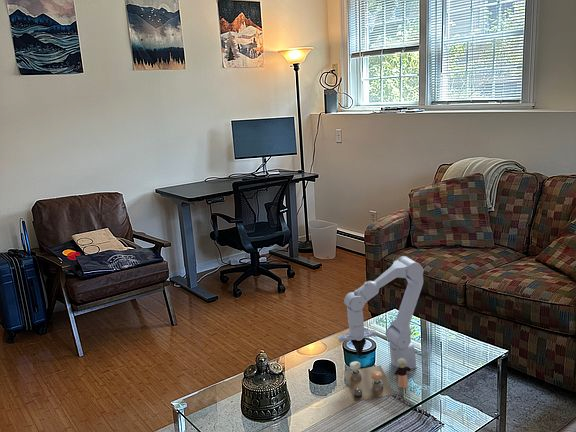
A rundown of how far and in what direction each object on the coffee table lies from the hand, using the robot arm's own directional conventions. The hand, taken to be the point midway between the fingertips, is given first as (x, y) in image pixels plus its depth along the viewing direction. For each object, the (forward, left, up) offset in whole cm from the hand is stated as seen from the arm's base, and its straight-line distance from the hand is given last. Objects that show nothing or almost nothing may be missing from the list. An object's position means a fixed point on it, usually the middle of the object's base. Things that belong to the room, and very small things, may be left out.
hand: (359, 355), depth 210 cm
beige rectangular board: (-1, +7, -9) cm, 12 cm away
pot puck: (+4, +14, -8) cm, 16 cm away
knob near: (-4, +11, -6) cm, 13 cm away
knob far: (+2, +2, -6) cm, 7 cm away
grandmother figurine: (-13, +12, -10) cm, 20 cm away
